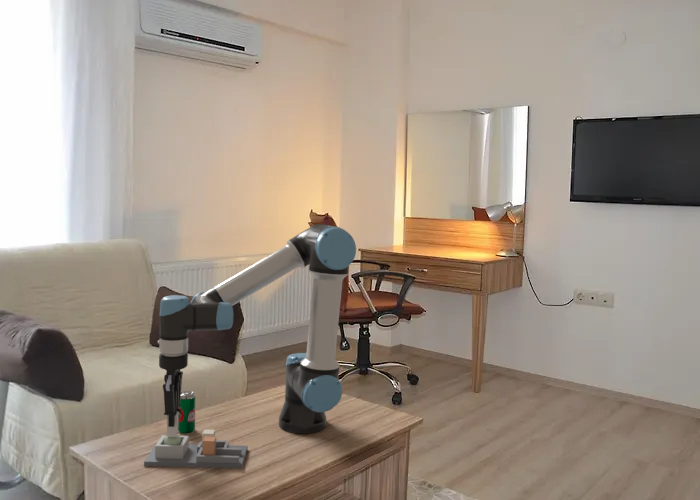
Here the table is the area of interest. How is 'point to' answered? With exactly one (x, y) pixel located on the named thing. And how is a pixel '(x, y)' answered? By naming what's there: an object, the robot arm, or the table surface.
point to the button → (172, 440)
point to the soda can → (187, 413)
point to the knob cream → (207, 434)
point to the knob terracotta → (209, 446)
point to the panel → (196, 455)
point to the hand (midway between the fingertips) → (172, 436)
